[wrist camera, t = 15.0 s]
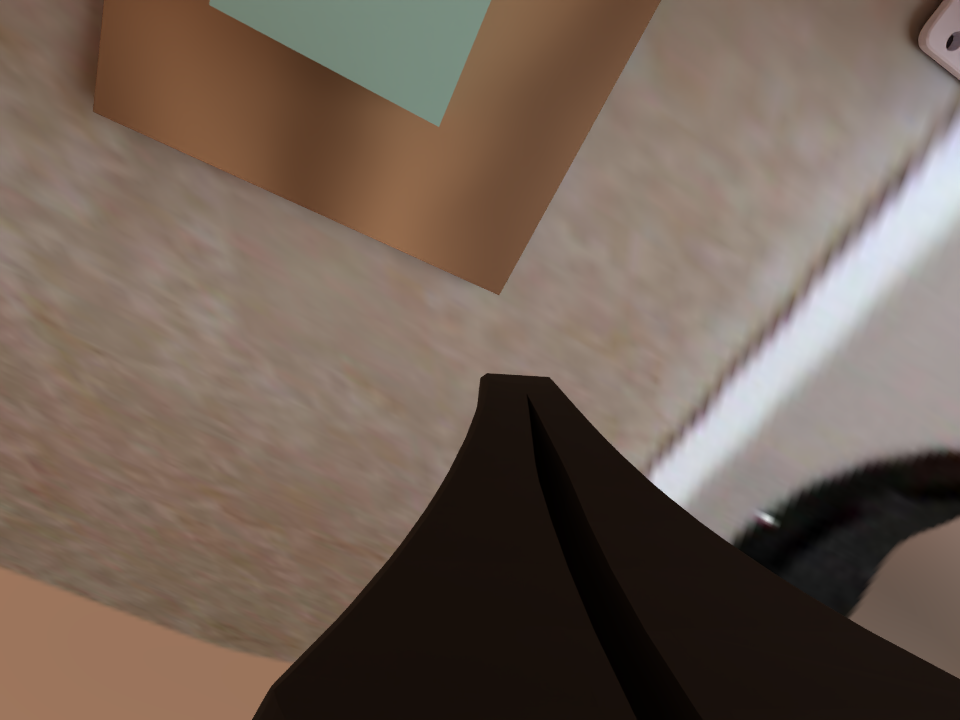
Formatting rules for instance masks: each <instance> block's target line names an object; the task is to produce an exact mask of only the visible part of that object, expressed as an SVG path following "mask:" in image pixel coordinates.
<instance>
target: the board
mask: <svg viewBox="0 0 960 720" xmlns="http://www.w3.org/2000/svg"><path fill="white" fill-rule="evenodd" d="M660 1H661V0H491V2H490V4H489V7H488V9H487V12H486V14H485V17H484V19H483V21H482V24H481V26H480V29H479V31H478V34H477V36H476V38H475V41H474V43H473V46H472V48H471V51H470V53H469V55H468V58H467V60H466V63H465V65H464V68H463V70H462V72H461V75H460V77H459V80H458V82H457V85H456V87H455V89H454V92H453V94H452V97H451V99H450V102H449V104H448V106H447V109H446V111H445V114H444V116H443V119H442V121H441V123H440V126H439V127H438V126H436V125H434V124H432V123H430V122H428V121H427V120H425V119H423V118H421V117H419V116H417V115H415V114H413V113H411V112H410V111H408V110H406V109H404V108H402V107H400V106H398V105H396V104H395V103H393V102H391V101H389V100H387V99H385V98H383V97H381V96H379V95H378V94H376V93H374V92H372V91H370V90H368V89H366V88H364V87H363V86H361V85H359V84H357V83H355V82H353V81H351V80H349V79H347V78H346V77H344V76H342V75H340V74H338V73H336V72H334V71H332V70H331V69H329V68H327V67H325V66H323V65H321V64H319V63H317V62H315V61H314V60H312V59H310V58H308V57H306V56H304V55H302V54H300V53H299V52H297V51H295V50H293V49H291V48H289V47H287V46H285V45H284V44H282V43H280V42H278V41H276V40H274V39H272V38H270V37H268V36H267V35H265V34H263V33H261V32H259V31H257V30H255V29H253V28H252V27H250V26H248V25H246V24H244V23H242V22H240V21H238V20H236V19H235V18H233V17H231V16H229V15H227V14H225V13H223V12H221V11H220V10H218V9H216V8H214V7H212V6H210V5H209V2H210V0H104V6H103V16H102V26H101V36H100V46H99V56H98V66H97V76H96V87H95V97H94V107H93V112H95V113H97V114H99V115H102V116H104V117H106V118H108V119H110V120H113V121H115V122H117V123H119V124H122V125H124V126H126V127H128V128H130V129H133V130H135V131H137V132H139V133H141V134H144V135H146V136H148V137H150V138H153V139H155V140H157V141H159V142H161V143H164V144H166V145H168V146H170V147H172V148H175V149H177V150H179V151H181V152H183V153H186V154H188V155H190V156H192V157H195V158H197V159H199V160H201V161H203V162H206V163H208V164H210V165H212V166H214V167H217V168H219V169H221V170H223V171H225V172H228V173H230V174H232V175H234V176H237V177H239V178H241V179H243V180H245V181H248V182H250V183H252V184H254V185H256V186H259V187H261V188H263V189H265V190H267V191H270V192H272V193H274V194H276V195H279V196H281V197H283V198H285V199H287V200H290V201H292V202H294V203H296V204H298V205H301V206H303V207H305V208H307V209H310V210H312V211H314V212H316V213H318V214H321V215H323V216H325V217H327V218H329V219H332V220H334V221H336V222H338V223H340V224H343V225H345V226H347V227H349V228H352V229H354V230H356V231H358V232H360V233H363V234H365V235H367V236H369V237H371V238H374V239H376V240H378V241H380V242H382V243H385V244H387V245H389V246H391V247H394V248H396V249H398V250H400V251H402V252H405V253H407V254H409V255H411V256H413V257H416V258H418V259H420V260H422V261H425V262H427V263H429V264H431V265H433V266H436V267H438V268H440V269H442V270H444V271H447V272H449V273H451V274H453V275H455V276H458V277H460V278H462V279H464V280H467V281H469V282H471V283H473V284H475V285H478V286H480V287H482V288H484V289H486V290H489V291H491V292H493V293H495V294H497V295H499V294H500V293H501V291H502V289H503V287H504V285H505V284H506V282H507V280H508V278H509V276H510V274H511V273H512V271H513V269H514V267H515V265H516V264H517V262H518V260H519V258H520V256H521V254H522V253H523V251H524V249H525V247H526V245H527V244H528V242H529V240H530V238H531V236H532V234H533V233H534V231H535V229H536V227H537V225H538V223H539V222H540V220H541V218H542V216H543V214H544V213H545V211H546V209H547V207H548V205H549V203H550V202H551V200H552V198H553V196H554V194H555V193H556V191H557V189H558V187H559V185H560V183H561V182H562V180H563V178H564V176H565V174H566V172H567V171H568V169H569V167H570V165H571V163H572V162H573V160H574V158H575V156H576V154H577V152H578V151H579V149H580V147H581V145H582V143H583V142H584V140H585V138H586V136H587V134H588V132H589V131H590V129H591V127H592V125H593V123H594V121H595V120H596V118H597V116H598V114H599V112H600V111H601V109H602V107H603V105H604V103H605V101H606V100H607V98H608V96H609V94H610V92H611V91H612V89H613V87H614V85H615V83H616V81H617V80H618V78H619V76H620V74H621V72H622V70H623V69H624V67H625V65H626V63H627V61H628V60H629V58H630V56H631V54H632V52H633V50H634V49H635V47H636V45H637V43H638V41H639V40H640V38H641V36H642V34H643V32H644V30H645V29H646V27H647V25H648V23H649V21H650V20H651V18H652V16H653V14H654V12H655V10H656V9H657V7H658V5H659V3H660Z"/></svg>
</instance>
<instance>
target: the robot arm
mask: <svg viewBox="0 0 960 720" xmlns="http://www.w3.org/2000/svg"><path fill="white" fill-rule="evenodd" d="M952 34H953V42H952V43H951V45H950V47H949V48H946V43H947V40H948V38H949V37H950V36H951V35H952ZM918 42H919V47H920V48H921V50H922V51H924V52H925V53H926V54H927V55H929V56H930V57H931V58H932V59H934V60H935V61H936V62H937V63H939V64H940V65H941V66H943V67H944V68H945V69H946V70H948V71H949V72H950V73H951V74H953V75H954V76H955V77H957V78H958V79H959V80H960V0H943V2H942V3H941V4H940V6H939V7H938V8H937V9H936V11H935V12H934V13H933V15H932V16H931V17H930V18H929V20H928V21H927V22H926V24H925V25H924V27H923V28H922V30H921V32H920V35H919V38H918ZM252 720H960V679H959V678H957V677H955V676H953V675H951V674H949V673H947V672H945V671H944V670H942V669H940V668H938V667H936V666H934V665H932V664H930V663H929V662H927V661H925V660H923V659H921V658H919V657H917V656H915V655H913V654H912V653H910V652H908V651H906V650H904V649H902V648H900V647H898V646H897V645H895V644H893V643H891V642H889V641H887V640H885V639H883V638H882V637H880V636H878V635H876V634H874V633H872V632H870V631H868V630H867V629H865V628H863V627H861V626H860V625H858V624H856V623H855V622H853V621H851V620H850V619H848V618H846V617H845V616H843V615H841V614H840V613H838V612H836V611H834V610H833V609H831V608H829V607H828V606H826V605H824V604H823V603H821V602H819V601H818V600H816V599H814V598H813V597H811V596H809V595H808V594H806V593H804V592H803V591H801V590H799V589H798V588H796V587H795V586H793V585H791V584H790V583H788V582H787V581H785V580H784V579H782V578H780V577H779V576H777V575H776V574H774V573H773V572H771V571H769V570H768V569H766V568H765V567H763V566H762V565H760V564H759V563H758V562H756V561H755V560H753V559H752V558H750V557H749V556H747V555H746V554H744V553H743V552H742V551H740V550H739V549H737V548H736V547H734V546H733V545H731V544H730V543H728V542H727V541H725V540H724V539H723V538H721V537H720V536H718V535H717V534H716V533H714V532H713V531H712V530H710V529H709V528H708V527H706V526H705V525H703V524H702V523H701V522H699V521H698V520H697V519H696V518H694V517H693V516H692V515H691V514H689V513H688V512H687V511H686V510H684V509H683V508H682V507H681V506H679V505H678V504H677V503H676V502H674V501H673V500H672V499H671V498H669V497H668V496H667V495H666V494H664V493H663V492H662V491H661V490H660V489H658V488H657V487H656V486H655V485H654V484H653V483H651V482H650V481H649V480H648V479H647V478H646V477H645V476H644V475H643V474H642V473H641V472H639V471H638V470H637V469H636V468H635V467H634V466H633V465H632V464H631V463H630V462H629V461H628V460H626V459H625V458H624V457H623V456H622V455H621V454H620V453H619V452H618V451H617V450H616V449H615V448H614V447H613V446H612V445H611V444H610V443H609V442H608V441H607V440H606V439H605V438H604V437H603V436H602V435H601V434H600V433H599V432H598V430H597V429H596V428H595V427H594V426H593V425H592V424H591V423H590V422H589V421H588V420H587V419H586V418H585V417H584V415H583V414H582V413H581V412H580V411H579V410H578V409H577V408H576V407H575V405H574V404H573V403H572V402H571V401H570V400H569V399H568V397H567V396H566V395H565V394H564V393H563V392H562V391H561V390H560V388H559V387H558V386H557V385H556V384H555V383H554V382H553V381H552V380H551V378H550V377H538V376H522V375H506V374H490V373H487V374H485V375H484V376H483V377H481V378H480V386H479V395H478V404H477V409H476V412H475V415H474V417H473V420H472V423H471V425H470V428H469V431H468V433H467V436H466V438H465V440H464V442H463V444H462V446H461V448H460V450H459V452H458V454H457V456H456V458H455V460H454V462H453V464H452V466H451V468H450V470H449V472H448V474H447V475H446V477H445V479H444V481H443V483H442V484H441V486H440V488H439V489H438V491H437V492H436V494H435V496H434V497H433V499H432V500H431V502H430V503H429V505H428V507H427V508H426V510H425V511H424V513H423V514H422V515H421V517H420V518H419V520H418V521H417V522H416V524H415V525H414V527H413V528H412V529H411V531H410V532H409V534H408V535H407V536H406V538H405V539H404V541H403V542H402V543H401V545H400V546H399V547H398V548H397V550H396V551H395V552H394V554H393V555H392V556H391V557H390V559H389V560H388V561H387V562H386V563H385V565H384V566H383V567H382V568H381V569H380V570H379V572H378V573H377V574H376V575H375V576H374V577H373V579H372V580H371V581H370V582H369V583H368V585H367V586H366V587H365V588H364V589H363V590H362V592H361V593H360V594H359V595H358V596H357V597H356V599H355V600H354V601H353V602H352V603H351V604H350V606H349V607H348V608H347V609H346V610H345V611H344V612H343V613H342V614H341V615H340V616H339V618H338V619H337V620H336V621H335V622H334V623H333V624H332V625H331V626H330V627H329V628H328V629H327V630H326V631H325V632H324V633H323V634H322V635H321V636H320V637H319V638H318V639H317V640H316V641H315V642H314V643H313V644H312V645H311V646H310V647H309V648H308V649H307V650H306V651H305V652H304V653H303V654H302V655H301V656H300V657H299V658H298V659H297V660H296V661H295V662H294V663H293V664H292V665H291V666H290V668H289V669H288V670H287V671H286V672H285V673H284V674H283V675H282V676H281V677H280V678H279V679H278V680H277V681H276V682H275V683H274V684H273V685H272V686H271V688H270V689H269V691H268V693H267V694H266V696H265V698H264V699H263V701H262V703H261V705H260V707H259V708H258V710H257V712H256V714H255V715H254V717H253V719H252Z"/></svg>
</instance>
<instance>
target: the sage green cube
mask: <svg viewBox="0 0 960 720" xmlns="http://www.w3.org/2000/svg"><path fill="white" fill-rule="evenodd" d="M490 2H491V0H210V2H209V5H210V6H212V7H214V8H216V9H218V10H220V11H221V12H223V13H225V14H227V15H229V16H231V17H233V18H235V19H236V20H238V21H240V22H242V23H244V24H246V25H248V26H250V27H252V28H253V29H255V30H257V31H259V32H261V33H263V34H265V35H267V36H268V37H270V38H272V39H274V40H276V41H278V42H280V43H282V44H284V45H285V46H287V47H289V48H291V49H293V50H295V51H297V52H299V53H300V54H302V55H304V56H306V57H308V58H310V59H312V60H314V61H315V62H317V63H319V64H321V65H323V66H325V67H327V68H329V69H331V70H332V71H334V72H336V73H338V74H340V75H342V76H344V77H346V78H347V79H349V80H351V81H353V82H355V83H357V84H359V85H361V86H363V87H364V88H366V89H368V90H370V91H372V92H374V93H376V94H378V95H379V96H381V97H383V98H385V99H387V100H389V101H391V102H393V103H395V104H396V105H398V106H400V107H402V108H404V109H406V110H408V111H410V112H411V113H413V114H415V115H417V116H419V117H421V118H423V119H425V120H427V121H428V122H430V123H432V124H434V125H436V126H438V127H439V126H440V123H441V121H442V119H443V116H444V114H445V111H446V109H447V106H448V104H449V102H450V99H451V97H452V94H453V92H454V89H455V87H456V85H457V82H458V80H459V77H460V75H461V72H462V70H463V68H464V65H465V63H466V60H467V58H468V55H469V53H470V51H471V48H472V46H473V43H474V41H475V38H476V36H477V34H478V31H479V29H480V26H481V24H482V21H483V19H484V17H485V14H486V12H487V9H488V7H489V4H490Z"/></svg>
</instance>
